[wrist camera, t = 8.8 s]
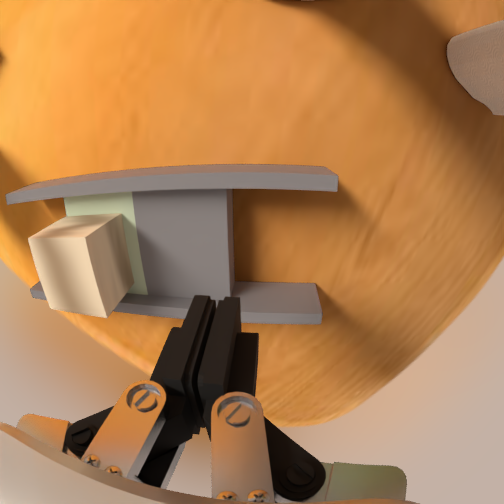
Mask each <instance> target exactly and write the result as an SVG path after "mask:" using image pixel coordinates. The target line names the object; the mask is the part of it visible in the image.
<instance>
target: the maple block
mask: <svg viewBox="0 0 504 504" xmlns="http://www.w3.org/2000/svg"><path fill="white" fill-rule="evenodd" d="M28 241H29V245H30V249H31V252H32V256H33V259H34V263H35V266H36V269H37V272H38V276H39V279H40V282H41V284H42V287H43V290H44V293H45V296H46V298H47V301H48V304H49V306H50V308H51V309H55V310H61V311H66V312H72V313H78V314H84V315H90V316H97V317H104V318H108V316H109V315H110V314H111V312H112V311H113V310H114V309H115V307H116V306H117V305H118V303H119V302H120V301H121V299H122V298H123V297H124V296H125V294H126V293H127V292H128V291H129V289H130V288H131V287H132V285H133V284H134V278H133V274H132V269H131V264H130V259H129V254H128V249H127V244H126V238H125V233H124V227H123V220H122V214H121V213H114V214H96V215H80V216H66V217H64V218H62V219H60V220H58V221H57V222H55V223H53V224H51V225H50V226H48V227H46V228H44V229H43V230H41V231H39V232H38V233H36V234H34V235H33V236H31V237H29V238H28Z"/></svg>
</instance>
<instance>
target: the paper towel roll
mask: <svg viewBox="0 0 504 504" xmlns="http://www.w3.org/2000/svg"><path fill="white" fill-rule="evenodd" d="M447 58H448V62H449V66H450V68H451V70H452V72H453V74H454V76H455V78H456V79H457V81H458V82H459V83H460V84H461V85H462V86H463V87H464V88H465V89H466V91H467V92H468V93H469V94H470V95H471V96H472V97H473V98H474V99H476V100H478V101H480V102H481V103H483V104H485V105H486V106H487V107H488V108H489V109H490V110H491V112H492V113H493V115H503V116H504V20H502V21H498V22H495V23H492V24H488V25H485V26H482V27H479V28H476V29H473V30H470V31H468V32H465V33H462V34H459V35H457V36H454V37H452V38H451V40H450V42H449V43H448V45H447Z"/></svg>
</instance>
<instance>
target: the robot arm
mask: <svg viewBox="0 0 504 504" xmlns="http://www.w3.org/2000/svg"><path fill="white" fill-rule="evenodd" d="M303 1H313V0H303ZM258 342H259V334H258V333H246V332H241V306H240V297H227V296H225V298H224V300H219V302H218V305H217V309H216V301H215V300H211V297H210V296H208V295H195V296H194V298H193V300H192V303H191V305H190V307H189V310H188V312H187V315H186V317H185V320H184V322H183V325H182V327H181V328H179V327H173V328H172V329H171V331H170V333H169V335H168V338H167V340H166V342H165V345H164V347H163V350H162V352H161V354H160V357H159V359H158V361H157V364H156V366H155V369H154V371H153V373H152V376H151V379H150V381H149V380H143V381H137V382H135V383H133V384H131V385H129V386H128V387H127V388H126V390H125V391H124V392H123V394H122V395H121V397H120V398H119V400H118V401H117V403H116V404H115V406H113V407H110V408H108V409H106V410H103V411H101V412H99V413H96V414H94V415H92V416H89V417H87V418H84V419H82V420H79V421H77V422H75V423H73V424H72V423H70V422H69V421H66V420H60V419H54V418H49V417H44V416H39V415H35V414H27V415H24V416H23V417H21V419H20V420H19V422H18V424H17V427H16V428H15V427H13V426H11V425H8V424H6V423H2V422H0V504H419V503H415V502H411V501H405V497H406V487H407V479H406V475H405V473H404V472H403V471H402V470H401V469H400V468H398V467H395V466H386V465H363V464H362V465H361V464H349V463H339V462H334V463H333V464H331V463H323V462H319V461H318V460H317V459H316V458H315V457H313V456H312V455H311V454H310V453H308V452H307V451H306V450H304V449H303V448H302V447H300V446H299V445H298V444H297V443H295V442H294V441H293V440H292V439H290V438H289V437H288V436H287V435H285V434H284V433H283V432H282V431H281V430H279V429H278V428H277V427H276V426H275V425H274V424H272V423H271V422H270V421H269V420H268V419H267V418H265V417H264V416H263V409H262V406H261V403H260V402H259V401H258V400H257V398H255V391H256V379H257V366H258ZM200 427H202V428H205V427H206V429H207V432H208V435H209V438H210V441H211V481H212V482H211V483H212V498H207V497H201V496H195V495H190V494H184V493H179V492H174V491H170V490H166V488H167V486H168V484H169V481H170V479H171V477H172V475H173V472H174V470H175V468H176V465H177V463H178V461H179V459H180V456H181V454H182V452H183V450H184V447H185V443H186V441H188V440H189V439H191V438H192V435H193V434H199V432H200Z"/></svg>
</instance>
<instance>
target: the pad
mask: <svg viewBox="0 0 504 504" xmlns="http://www.w3.org/2000/svg"><path fill="white" fill-rule="evenodd" d="M63 198H64V204H65V210H66V216H80V215H96V214H114V213H121V214H122V220H123V227H124V233H125V238H126V244H127V249H128V254H129V259H130V264H131V269H132V274H133V278H134V284H133V285H132V287H131V288H130V289H129V291H128V292H127V293H132V294H143V295H148V292H147V287H146V282H145V277H144V272H143V267H142V261H141V255H140V249H139V243H138V236H137V230H136V222H135V215H134V207H133V198H132V192H117V193H104V194H92V195H81V196H71V197H63Z"/></svg>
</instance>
